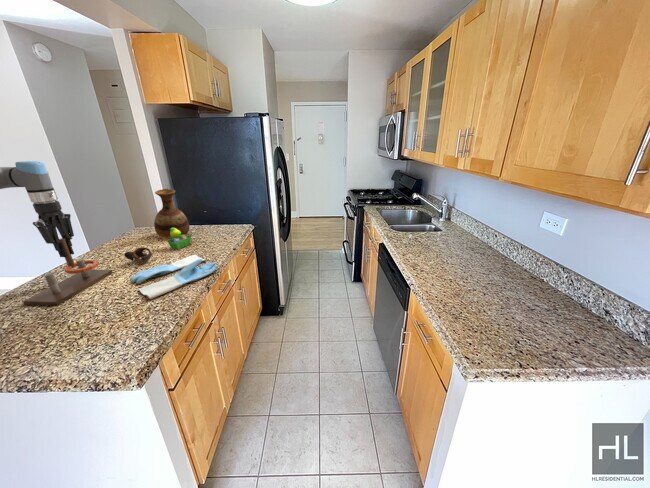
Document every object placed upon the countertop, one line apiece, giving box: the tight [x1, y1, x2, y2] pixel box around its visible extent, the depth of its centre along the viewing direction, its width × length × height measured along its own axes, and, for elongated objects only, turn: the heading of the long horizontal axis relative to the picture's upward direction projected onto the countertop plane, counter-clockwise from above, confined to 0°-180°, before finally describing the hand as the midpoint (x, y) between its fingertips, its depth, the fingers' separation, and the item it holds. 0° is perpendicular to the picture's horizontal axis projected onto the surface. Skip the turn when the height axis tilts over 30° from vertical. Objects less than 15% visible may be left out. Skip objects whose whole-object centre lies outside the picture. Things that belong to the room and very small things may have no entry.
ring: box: [59, 237, 100, 275], centre depth 111 cm, size 11×11×14 cm
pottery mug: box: [123, 246, 154, 266], centre depth 132 cm, size 12×10×8 cm
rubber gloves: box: [129, 254, 219, 300], centre depth 119 cm, size 27×33×6 cm
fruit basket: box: [166, 228, 192, 250], centre depth 150 cm, size 11×9×11 cm
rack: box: [22, 258, 113, 306], centre depth 108 cm, size 13×26×10 cm, turn 178°
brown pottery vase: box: [153, 188, 190, 238], centre depth 165 cm, size 20×20×30 cm
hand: (67, 255), depth 112 cm, fingers closed on ring, 2 cm apart
